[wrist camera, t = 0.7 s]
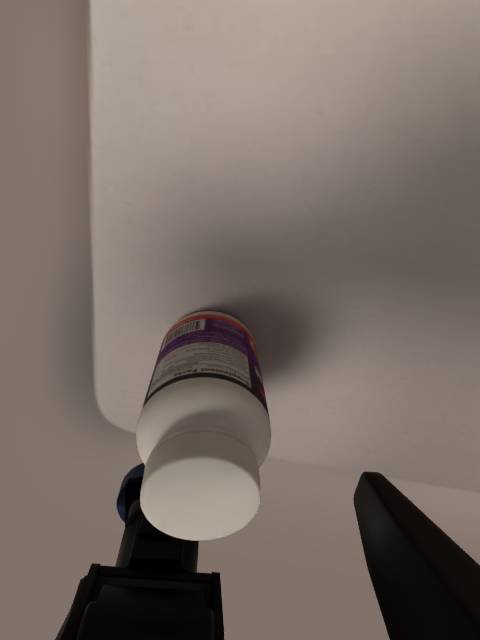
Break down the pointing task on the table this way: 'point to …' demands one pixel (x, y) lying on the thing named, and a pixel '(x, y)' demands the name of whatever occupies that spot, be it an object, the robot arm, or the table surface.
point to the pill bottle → (203, 429)
